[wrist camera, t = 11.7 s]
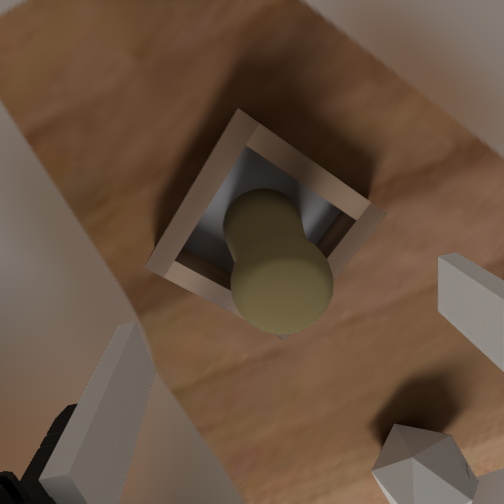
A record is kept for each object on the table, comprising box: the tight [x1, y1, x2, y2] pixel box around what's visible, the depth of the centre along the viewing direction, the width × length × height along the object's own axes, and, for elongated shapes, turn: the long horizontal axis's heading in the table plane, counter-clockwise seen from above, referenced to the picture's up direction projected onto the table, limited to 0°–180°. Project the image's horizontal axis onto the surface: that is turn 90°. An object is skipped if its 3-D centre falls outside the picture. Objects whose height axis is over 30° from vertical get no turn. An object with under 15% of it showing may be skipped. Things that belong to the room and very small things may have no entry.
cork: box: [223, 188, 333, 335], centre depth 21 cm, size 6×6×11 cm
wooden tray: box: [144, 108, 387, 340], centre depth 25 cm, size 12×12×4 cm
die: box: [371, 424, 478, 504], centre depth 33 cm, size 8×9×10 cm
